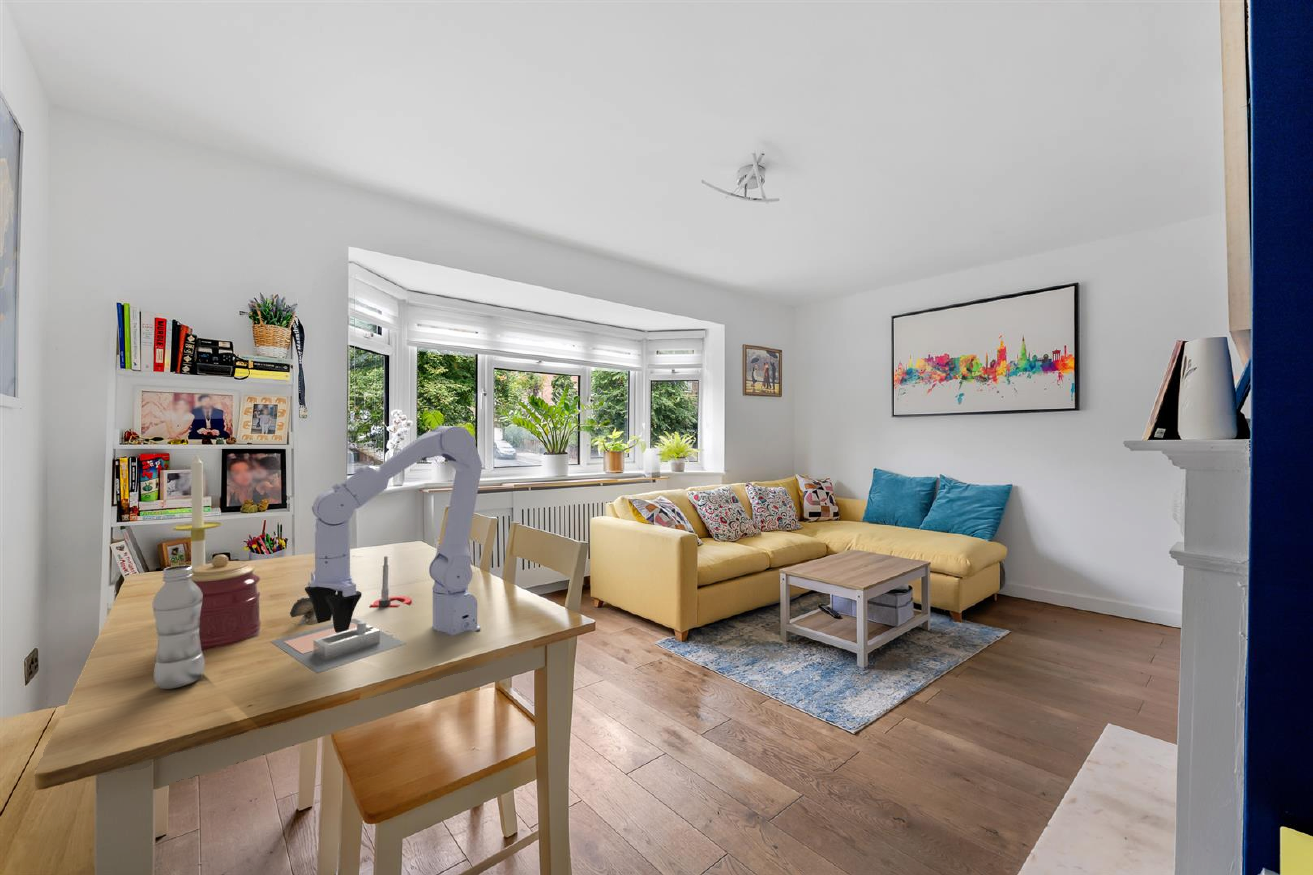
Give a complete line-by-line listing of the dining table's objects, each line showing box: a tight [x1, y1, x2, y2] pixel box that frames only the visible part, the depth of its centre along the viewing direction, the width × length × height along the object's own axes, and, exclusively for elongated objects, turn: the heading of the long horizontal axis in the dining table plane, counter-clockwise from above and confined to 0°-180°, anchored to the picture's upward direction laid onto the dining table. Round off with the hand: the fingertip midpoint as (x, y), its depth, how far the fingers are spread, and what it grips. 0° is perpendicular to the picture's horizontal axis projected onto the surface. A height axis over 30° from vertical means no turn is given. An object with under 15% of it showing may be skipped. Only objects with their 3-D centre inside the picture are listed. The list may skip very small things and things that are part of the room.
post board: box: [270, 618, 407, 674], centre depth 107 cm, size 22×16×5 cm
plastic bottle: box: [151, 564, 206, 690], centre depth 91 cm, size 6×7×20 cm
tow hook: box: [369, 555, 413, 609], centre depth 132 cm, size 8×13×9 cm
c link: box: [313, 623, 381, 660], centre depth 104 cm, size 5×10×2 cm, turn 143°
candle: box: [173, 452, 222, 570], centre depth 125 cm, size 10×10×38 cm
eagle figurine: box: [289, 597, 319, 626], centre depth 119 cm, size 8×7×9 cm
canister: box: [191, 554, 262, 652], centre depth 109 cm, size 13×13×18 cm
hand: (332, 626), depth 102 cm, fingers open, 7 cm apart
